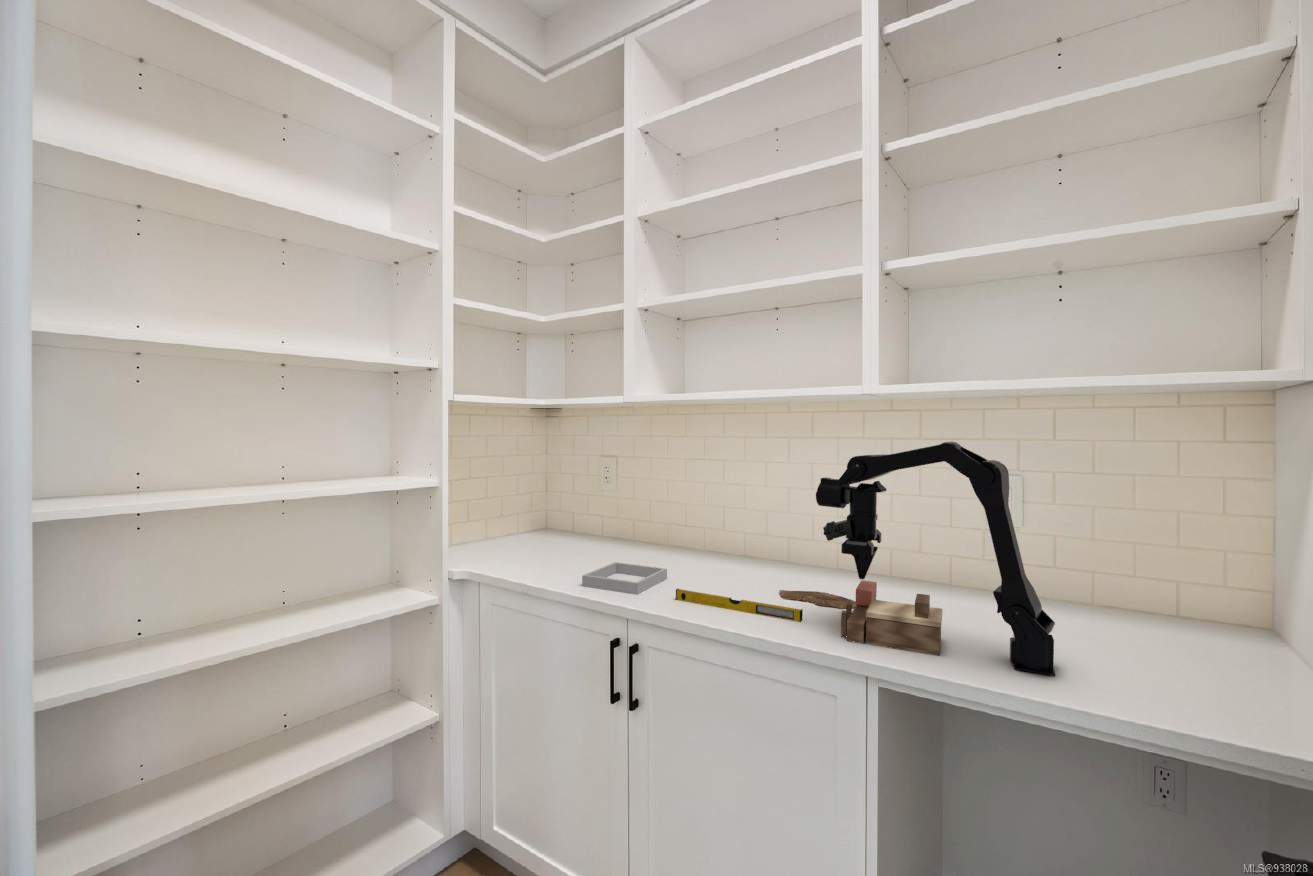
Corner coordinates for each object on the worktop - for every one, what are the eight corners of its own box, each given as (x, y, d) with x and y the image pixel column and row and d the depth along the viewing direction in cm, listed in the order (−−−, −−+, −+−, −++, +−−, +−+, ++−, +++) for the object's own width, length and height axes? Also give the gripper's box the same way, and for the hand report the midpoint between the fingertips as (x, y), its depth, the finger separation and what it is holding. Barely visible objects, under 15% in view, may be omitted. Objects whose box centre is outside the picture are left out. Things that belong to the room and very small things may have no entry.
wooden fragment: (769, 597, 159) (769, 593, 158) (787, 588, 167) (787, 584, 167) (867, 616, 143) (867, 612, 143) (880, 605, 152) (880, 601, 152)
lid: (942, 613, 127) (942, 594, 127) (941, 627, 118) (941, 607, 118) (872, 603, 133) (872, 586, 133) (866, 616, 125) (866, 598, 124)
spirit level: (675, 600, 155) (675, 589, 155) (678, 599, 157) (678, 588, 156) (800, 623, 138) (800, 610, 138) (802, 621, 139) (802, 609, 139)
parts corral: (666, 578, 176) (666, 568, 176) (637, 594, 160) (637, 583, 160) (615, 571, 184) (615, 562, 184) (582, 585, 168) (582, 575, 168)
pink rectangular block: (876, 596, 144) (876, 582, 143) (871, 606, 136) (871, 591, 135) (861, 594, 145) (861, 580, 145) (855, 604, 137) (855, 589, 137)
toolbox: (942, 624, 137) (942, 600, 137) (939, 656, 118) (939, 628, 118) (855, 611, 146) (855, 589, 145) (839, 639, 127) (840, 614, 127)
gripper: (834, 503, 146) (833, 565, 147) (818, 513, 129) (817, 584, 130) (882, 506, 141) (881, 571, 141) (871, 517, 124) (870, 591, 125)
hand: (861, 578), depth 135 cm, fingers closed
